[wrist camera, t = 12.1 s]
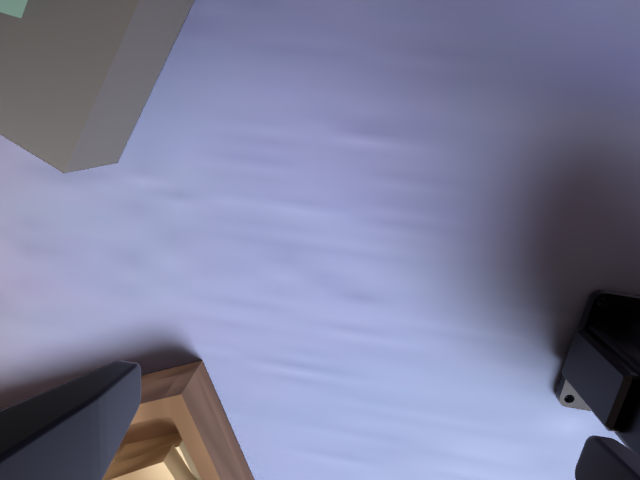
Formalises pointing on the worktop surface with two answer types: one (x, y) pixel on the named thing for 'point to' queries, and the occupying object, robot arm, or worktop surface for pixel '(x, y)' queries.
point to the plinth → (82, 75)
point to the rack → (188, 421)
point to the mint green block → (13, 7)
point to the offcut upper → (152, 467)
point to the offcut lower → (155, 444)
